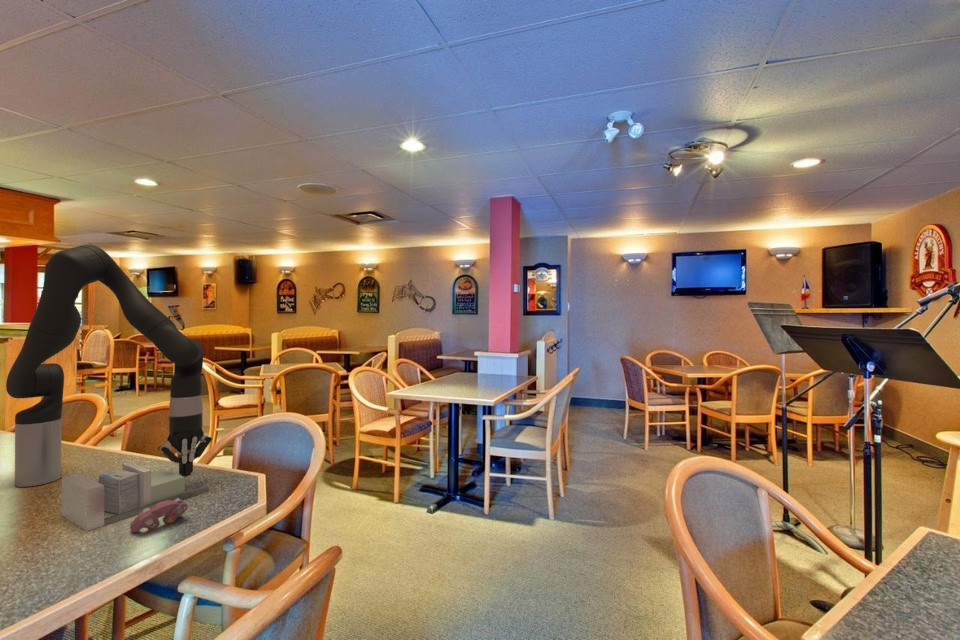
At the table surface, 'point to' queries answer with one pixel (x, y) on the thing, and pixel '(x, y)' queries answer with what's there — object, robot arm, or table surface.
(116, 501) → the medicine box
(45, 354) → the robot arm
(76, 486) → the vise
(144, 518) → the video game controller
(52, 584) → the table surface
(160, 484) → the sliding jaw
